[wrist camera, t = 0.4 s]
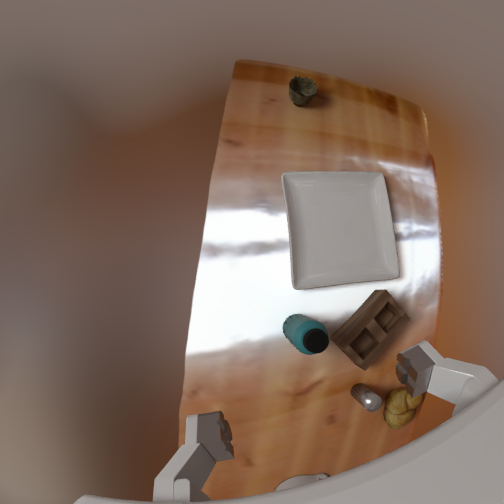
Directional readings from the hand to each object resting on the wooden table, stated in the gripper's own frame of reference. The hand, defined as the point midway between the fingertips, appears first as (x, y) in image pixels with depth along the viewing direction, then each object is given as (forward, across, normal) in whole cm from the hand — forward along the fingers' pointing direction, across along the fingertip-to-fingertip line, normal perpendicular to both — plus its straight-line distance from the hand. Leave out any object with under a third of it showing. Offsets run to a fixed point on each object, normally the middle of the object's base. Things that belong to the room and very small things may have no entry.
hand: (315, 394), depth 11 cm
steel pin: (+35, +17, -48) cm, 62 cm away
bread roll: (+31, +26, -57) cm, 70 cm away
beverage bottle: (+44, +6, -29) cm, 53 cm away
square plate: (+54, +22, -13) cm, 60 cm away
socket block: (+42, +22, -35) cm, 59 cm away
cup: (+70, +24, +21) cm, 77 cm away
